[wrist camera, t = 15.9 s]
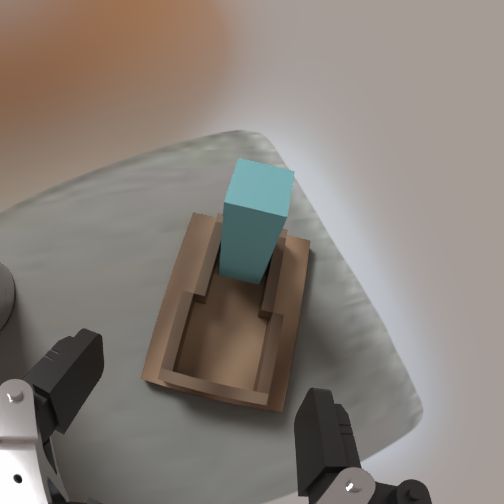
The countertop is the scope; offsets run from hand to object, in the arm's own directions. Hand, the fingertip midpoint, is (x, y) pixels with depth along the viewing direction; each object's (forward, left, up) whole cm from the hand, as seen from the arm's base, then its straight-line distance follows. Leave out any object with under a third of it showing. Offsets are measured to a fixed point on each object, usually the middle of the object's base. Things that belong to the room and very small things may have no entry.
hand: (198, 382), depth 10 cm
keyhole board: (+1, +8, -17) cm, 19 cm away
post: (+1, +13, -16) cm, 20 cm away
